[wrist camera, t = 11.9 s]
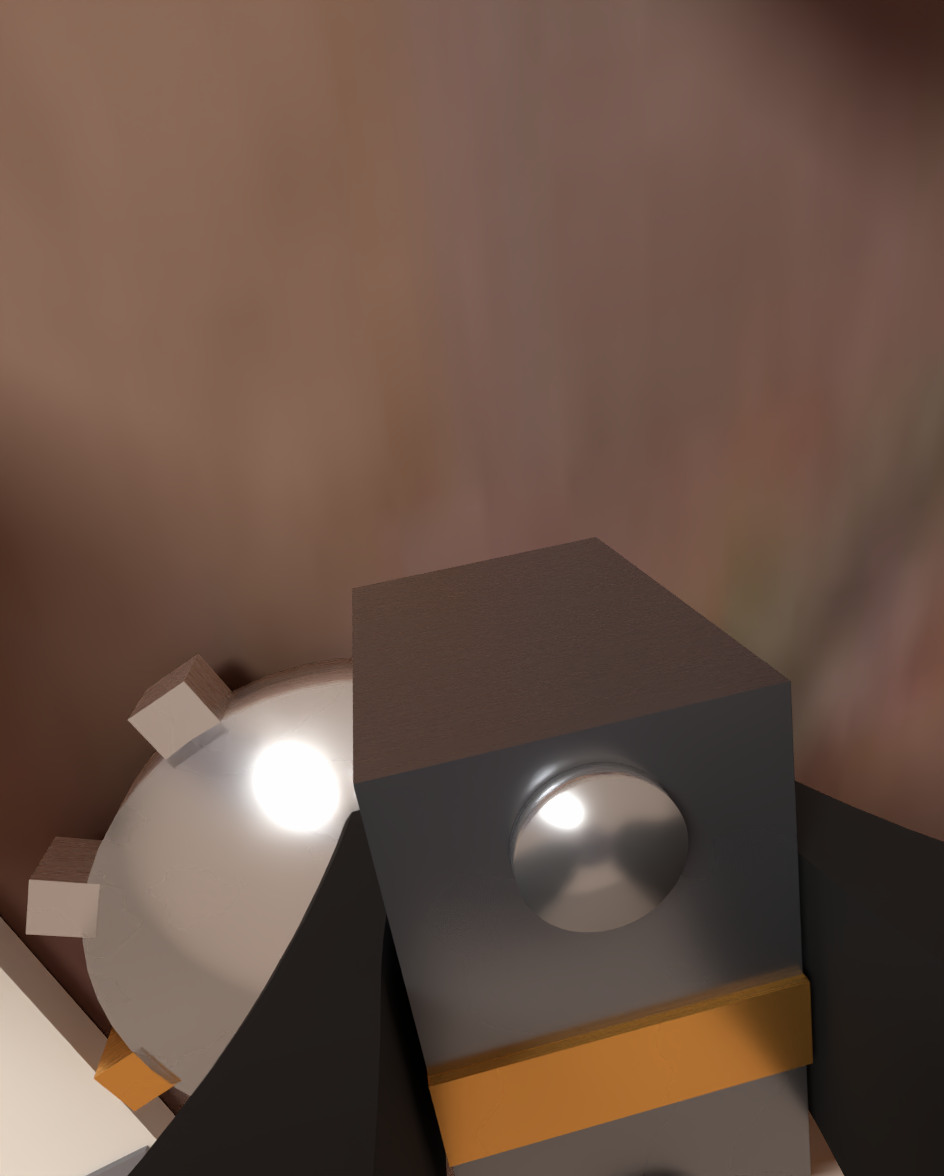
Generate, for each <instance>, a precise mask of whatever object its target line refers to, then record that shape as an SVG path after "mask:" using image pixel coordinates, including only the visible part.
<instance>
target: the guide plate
mask: <svg viewBox="0 0 944 1176" xmlns="http://www.w3.org/2000/svg"><path fill="white" fill-rule="evenodd" d="M107 1040H108V1039H107V1038H106V1036H105V1035H104V1034H103V1033H102V1032H101V1031H100V1030H99V1029H98V1027H97V1026H96V1025H95V1024H94V1023H93V1022H92V1021H91V1019H90V1018H89V1017H88V1016H87V1015H86V1014H85V1013H84V1011H83V1010H82V1009H81V1008H80V1007H79V1006H78V1005H77V1003H76V1002H75V1001H74V1000H73V999H72V998H71V997H70V996H69V994H68V993H67V992H66V991H65V990H64V989H63V988H62V986H61V985H60V984H59V983H58V982H57V981H56V980H55V978H54V977H53V976H52V975H51V974H50V973H49V972H48V970H47V969H46V968H45V967H44V966H43V965H42V964H41V962H40V961H39V960H38V959H37V958H36V957H35V956H34V955H33V953H32V952H31V951H30V950H29V949H28V948H27V947H26V945H25V944H24V943H23V942H22V941H21V940H20V939H19V937H18V936H17V935H16V934H15V933H14V932H13V931H12V929H11V928H10V927H9V926H8V925H7V924H6V923H5V922H4V920H3V919H2V918H1V917H0V1176H128V1174H129V1173H130V1172H131V1171H132V1170H133V1168H134V1167H135V1166H136V1165H137V1164H138V1163H139V1161H140V1160H141V1159H142V1158H143V1157H144V1155H145V1154H146V1153H147V1151H148V1150H149V1149H150V1148H151V1146H152V1145H153V1144H154V1143H155V1141H156V1140H157V1139H158V1137H159V1136H160V1135H161V1134H162V1132H163V1131H164V1130H165V1129H166V1127H167V1126H168V1125H169V1124H170V1122H171V1121H172V1120H173V1118H174V1117H175V1115H174V1114H173V1113H172V1112H171V1110H170V1109H169V1108H168V1107H167V1106H166V1105H165V1104H164V1103H163V1101H162V1100H161V1099H160V1098H159V1097H158V1096H157V1097H156V1098H154V1099H153V1100H151V1101H150V1102H148V1103H147V1104H145V1105H144V1106H142V1107H141V1108H139V1109H138V1110H136V1111H133V1110H132V1109H131V1108H130V1107H128V1106H127V1105H126V1104H125V1103H123V1102H122V1101H121V1100H120V1099H118V1098H117V1097H116V1096H115V1095H113V1094H112V1093H111V1092H110V1091H108V1090H107V1089H106V1088H105V1087H103V1086H102V1085H101V1084H100V1083H98V1082H97V1081H96V1080H95V1079H94V1076H95V1073H96V1070H97V1068H98V1065H99V1062H100V1059H101V1056H102V1054H103V1051H104V1048H105V1045H106V1043H107Z"/></svg>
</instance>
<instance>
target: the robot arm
mask: <svg viewBox="0 0 944 1176" xmlns="http://www.w3.org/2000/svg"><path fill="white" fill-rule="evenodd" d="M795 802H796V826H797V850H798V874H799V899H800V923H801V947H802V971H803V973H804V975H805V976H806V977H807V979H808V980H809V982H810V998H811V1025H812V1052H813V1063H812V1064H809V1065H806V1069H807V1093H808V1110H809V1111H810V1113H811V1115H812V1116H813V1118H814V1120H815V1122H816V1123H817V1125H818V1127H819V1129H820V1131H821V1132H822V1134H823V1136H824V1138H825V1140H826V1142H827V1144H828V1146H829V1148H830V1149H831V1151H832V1153H833V1155H834V1157H835V1159H836V1161H837V1163H838V1165H839V1166H840V1168H841V1170H842V1172H843V1174H844V1176H944V842H943V841H940V840H937V839H934V838H931V837H928V836H926V835H923V834H920V833H918V832H915V831H912V830H909V829H907V828H904V827H902V826H899V825H897V824H894V823H892V822H889V821H887V820H884V819H882V818H879V817H877V816H874V815H872V814H870V813H867V812H865V811H862V810H860V809H857V808H855V807H852V806H850V805H848V804H845V803H843V802H841V801H839V800H836V799H834V798H832V797H829V796H827V795H825V794H823V793H821V792H818V791H816V790H814V789H812V788H809V787H807V786H805V785H803V784H801V783H799V782H797V781H795ZM128 1176H447V1172H446V1153H445V1147H444V1144H443V1140H442V1136H441V1132H440V1128H439V1124H438V1121H437V1117H436V1113H435V1109H434V1105H433V1101H432V1098H431V1094H430V1090H429V1084H428V1075H427V1067H426V1064H425V1060H424V1056H423V1052H422V1048H421V1044H420V1040H419V1037H418V1033H417V1029H416V1025H415V1021H414V1017H413V1013H412V1010H411V1006H410V1002H409V998H408V994H407V990H406V986H405V983H404V979H403V975H402V971H401V967H400V963H399V959H398V956H397V952H396V948H395V944H394V940H393V936H392V932H391V929H390V925H389V921H388V917H387V913H386V909H385V905H384V902H383V898H382V894H381V890H380V886H379V882H378V878H377V875H376V871H375V867H374V863H373V859H372V855H371V851H370V848H369V844H368V840H367V836H366V832H365V828H364V824H363V821H362V817H361V813H360V810H357V811H353V812H351V814H350V815H349V817H348V818H347V820H346V821H345V824H344V826H343V829H342V832H341V834H340V837H339V839H338V842H337V845H336V847H335V849H334V852H333V854H332V857H331V859H330V861H329V864H328V866H327V868H326V870H325V873H324V875H323V877H322V879H321V881H320V884H319V886H318V888H317V890H316V892H315V894H314V896H313V898H312V900H311V902H310V904H309V906H308V908H307V910H306V912H305V914H304V916H303V918H302V920H301V922H300V924H299V926H298V928H297V930H296V932H295V934H294V936H293V938H292V940H291V941H290V943H289V945H288V947H287V948H286V950H285V952H284V954H283V955H282V957H281V959H280V961H279V962H278V964H277V966H276V968H275V969H274V971H273V973H272V975H271V977H270V978H269V980H268V982H267V984H266V985H265V987H264V989H263V990H262V992H261V994H260V995H259V997H258V999H257V1000H256V1002H255V1003H254V1005H253V1007H252V1008H251V1010H250V1011H249V1013H248V1015H247V1016H246V1018H245V1019H244V1021H243V1022H242V1024H241V1025H240V1027H239V1028H238V1030H237V1032H236V1033H235V1035H234V1036H233V1037H232V1039H231V1040H230V1042H229V1043H228V1045H227V1046H226V1048H225V1049H224V1051H223V1052H222V1054H221V1055H220V1056H219V1058H218V1059H217V1061H216V1062H215V1064H214V1065H213V1067H212V1068H211V1069H210V1071H209V1072H208V1074H207V1075H206V1076H205V1078H204V1079H203V1080H202V1082H201V1083H200V1084H199V1086H198V1087H197V1088H196V1090H195V1091H194V1092H193V1094H192V1095H191V1096H190V1098H189V1099H188V1100H187V1102H186V1103H185V1104H184V1106H183V1107H182V1108H181V1110H180V1111H179V1112H178V1113H177V1115H176V1116H175V1117H174V1118H173V1120H172V1121H171V1122H170V1124H169V1125H168V1126H167V1127H166V1129H165V1130H164V1131H163V1132H162V1134H161V1135H160V1136H159V1137H158V1139H157V1140H156V1141H155V1143H154V1144H153V1145H152V1146H151V1148H150V1149H149V1150H148V1151H147V1153H146V1154H145V1155H144V1157H143V1158H142V1159H141V1160H140V1161H139V1163H138V1164H137V1165H136V1166H135V1167H134V1168H133V1170H132V1171H131V1172H130V1173H129V1174H128Z"/></svg>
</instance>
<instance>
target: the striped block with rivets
mask: <svg viewBox="0 0 944 1176" xmlns="http://www.w3.org/2000/svg"><path fill="white" fill-rule="evenodd" d="M352 615H353V786H354V790H355V794H356V797H357V801H358V805H359V809H360V813H361V817H362V821H363V824H364V828H365V832H366V836H367V840H368V844H369V848H370V851H371V855H372V859H373V863H374V867H375V871H376V875H377V878H378V882H379V886H380V890H381V894H382V898H383V902H384V905H385V909H386V913H387V917H388V921H389V925H390V929H391V932H392V936H393V940H394V944H395V948H396V952H397V956H398V959H399V963H400V967H401V971H402V975H403V979H404V983H405V986H406V990H407V994H408V998H409V1002H410V1006H411V1010H412V1013H413V1017H414V1021H415V1025H416V1029H417V1033H418V1037H419V1040H420V1044H421V1048H422V1052H423V1056H424V1060H425V1064H426V1067H427V1075H428V1084H429V1090H430V1094H431V1098H432V1101H433V1105H434V1109H435V1113H436V1117H437V1121H438V1124H439V1128H440V1132H441V1136H442V1140H443V1144H444V1147H445V1151H446V1155H447V1159H448V1163H449V1167H452V1168H453V1172H454V1175H455V1176H811V1166H810V1141H809V1117H808V1093H807V1069H806V1065H809V1064H812V1063H813V1052H812V1025H811V998H810V982H809V980H808V979H807V977H806V976H805V975H804V973H803V971H802V947H801V923H800V899H799V874H798V850H797V826H796V802H795V777H794V753H793V729H792V705H791V681H790V680H788V679H787V678H786V677H784V676H783V675H782V674H780V673H779V672H778V671H776V670H775V669H774V668H772V667H771V666H770V665H768V664H767V663H765V662H764V661H763V660H761V659H760V658H759V657H757V656H756V655H755V654H753V653H752V652H751V651H749V650H748V649H747V648H745V647H744V646H742V645H741V644H740V643H738V642H737V641H736V640H734V639H733V638H732V637H730V636H729V635H728V634H726V633H725V632H724V631H722V630H721V629H720V628H718V627H717V626H715V625H714V624H713V623H711V622H710V621H709V620H707V619H706V618H705V617H703V616H702V615H701V614H699V613H698V612H697V611H695V610H694V609H692V608H691V607H690V606H688V605H687V604H686V603H684V602H683V601H682V600H680V599H679V598H678V597H676V596H675V595H674V594H672V593H671V592H670V591H668V590H667V589H665V588H664V587H663V586H661V585H660V584H659V583H657V582H656V581H655V580H653V579H652V578H651V577H649V576H648V575H647V574H645V573H644V572H642V571H641V570H640V569H638V568H637V567H636V566H634V565H633V564H632V563H630V562H629V561H628V560H626V559H625V558H624V557H622V556H621V555H619V554H618V553H617V552H615V551H614V550H613V549H611V548H610V547H609V546H607V545H606V544H605V543H603V542H602V541H601V540H599V539H598V538H597V537H594V538H590V539H585V540H580V541H576V542H571V543H566V544H561V545H557V546H552V547H547V548H542V549H538V550H533V551H528V552H524V553H519V554H514V555H509V556H505V557H500V558H495V559H490V560H486V561H481V562H476V563H472V564H467V565H462V566H457V567H453V568H448V569H443V570H438V571H434V572H429V573H424V574H420V575H415V576H410V577H405V578H401V579H396V580H391V581H386V582H382V583H377V584H372V585H368V586H363V587H358V588H353V589H352Z"/></svg>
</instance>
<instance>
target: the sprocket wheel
mask: <svg viewBox="0 0 944 1176" xmlns="http://www.w3.org/2000/svg"><path fill="white" fill-rule="evenodd" d="M128 721H129V722H130V723H131V724H132V725H133V726H134V727H135V728H136V729H137V730H138V731H139V732H140V733H141V734H142V735H143V736H144V738H145V739H146V740H147V741H148V742H149V743H150V744H151V745H152V746H153V747H154V748H155V749H156V750H157V751H156V752H155V753H154V754H153V755H152V756H151V758H150V759H149V761H148V762H147V763H146V765H145V766H144V767H143V769H142V770H141V771H140V773H139V774H138V775H137V777H136V778H135V780H134V781H133V783H132V785H131V787H130V789H129V791H128V793H127V795H126V796H125V798H124V800H123V802H122V804H121V806H120V808H119V810H118V812H117V814H116V815H115V817H114V819H113V821H112V823H111V825H110V827H109V829H108V831H107V833H106V835H105V837H104V839H103V840H91V839H79V838H67V837H55V838H54V840H53V842H52V843H51V845H50V847H49V848H48V850H47V851H46V853H45V855H44V856H43V858H42V859H41V861H40V863H39V864H38V866H37V867H36V869H35V871H34V872H33V874H32V876H31V877H30V879H29V888H28V905H27V921H26V934H30V935H48V936H65V937H83V947H84V953H85V959H86V964H87V970H88V974H89V977H90V979H91V982H92V985H93V988H94V991H95V994H96V996H97V999H98V1001H99V1003H100V1005H101V1007H102V1009H103V1010H104V1012H105V1014H106V1016H107V1018H108V1020H109V1021H110V1023H111V1025H112V1029H111V1031H110V1034H109V1037H108V1040H107V1043H106V1045H105V1048H104V1051H103V1054H102V1056H101V1059H100V1062H99V1065H98V1068H97V1070H96V1073H95V1076H94V1079H95V1080H96V1081H97V1082H98V1083H100V1084H101V1085H102V1086H103V1087H105V1088H106V1089H107V1090H108V1091H110V1092H111V1093H112V1094H113V1095H115V1096H116V1097H117V1098H118V1099H120V1100H121V1101H122V1102H123V1103H125V1104H126V1105H127V1106H128V1107H130V1108H131V1109H132V1110H133V1111H136V1110H138V1109H139V1108H141V1107H142V1106H144V1105H145V1104H147V1103H148V1102H150V1101H151V1100H153V1099H154V1098H156V1097H157V1096H159V1095H161V1094H162V1093H164V1092H165V1091H167V1090H168V1089H170V1088H171V1087H173V1086H174V1087H175V1088H177V1089H178V1090H180V1091H182V1092H184V1093H186V1094H188V1095H189V1096H191V1095H192V1094H193V1092H194V1091H195V1090H196V1088H197V1087H198V1086H199V1084H200V1083H201V1082H202V1080H203V1079H204V1078H205V1076H206V1075H207V1074H208V1072H209V1071H210V1069H211V1068H212V1067H213V1065H214V1064H215V1062H216V1061H217V1059H218V1058H219V1056H220V1055H221V1054H222V1052H223V1051H224V1049H225V1048H226V1046H227V1045H228V1043H229V1042H230V1040H231V1039H232V1037H233V1036H234V1035H235V1033H236V1032H237V1030H238V1028H239V1027H240V1025H241V1024H242V1022H243V1021H244V1019H245V1018H246V1016H247V1015H248V1013H249V1011H250V1010H251V1008H252V1007H253V1005H254V1003H255V1002H256V1000H257V999H258V997H259V995H260V994H261V992H262V990H263V989H264V987H265V985H266V984H267V982H268V980H269V978H270V977H271V975H272V973H273V971H274V969H275V968H276V966H277V964H278V962H279V961H280V959H281V957H282V955H283V954H284V952H285V950H286V948H287V947H288V945H289V943H290V941H291V940H292V938H293V936H294V934H295V932H296V930H297V928H298V926H299V924H300V922H301V920H302V918H303V916H304V914H305V912H306V910H307V908H308V906H309V904H310V902H311V900H312V898H313V896H314V894H315V892H316V890H317V888H318V886H319V884H320V881H321V879H322V877H323V875H324V873H325V870H326V868H327V866H328V864H329V861H330V859H331V857H332V854H333V852H334V849H335V847H336V845H337V842H338V839H339V837H340V834H341V832H342V829H343V826H344V824H345V821H346V820H347V818H348V817H349V815H350V814H351V812H353V811H357V810H360V809H359V805H358V801H357V797H356V794H355V790H354V786H353V658H340V659H334V660H328V661H322V662H316V663H310V664H304V665H301V666H298V667H294V668H291V669H287V670H284V671H281V672H277V673H274V674H270V675H268V676H266V677H263V678H261V679H259V680H256V681H254V682H252V683H249V684H247V685H245V686H242V687H240V688H238V689H236V690H234V691H231V690H230V689H229V688H228V687H227V685H226V684H225V683H224V682H223V681H222V680H221V679H220V677H219V676H218V675H217V674H216V673H215V672H214V671H213V669H212V668H211V667H210V666H209V665H208V664H207V663H206V662H205V660H204V659H203V658H202V657H201V656H200V655H199V654H197V655H196V656H194V657H193V658H191V659H190V660H188V661H187V662H185V663H184V664H182V665H181V666H179V667H178V668H177V669H175V670H174V671H172V672H171V673H169V674H168V675H166V676H165V677H163V678H162V679H160V680H159V681H157V682H156V683H155V684H153V685H152V686H150V687H149V688H147V689H146V691H145V693H144V694H143V696H142V697H141V699H140V701H139V702H138V704H137V705H136V707H135V709H134V710H133V712H132V713H131V715H130V717H129V718H128Z"/></svg>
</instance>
